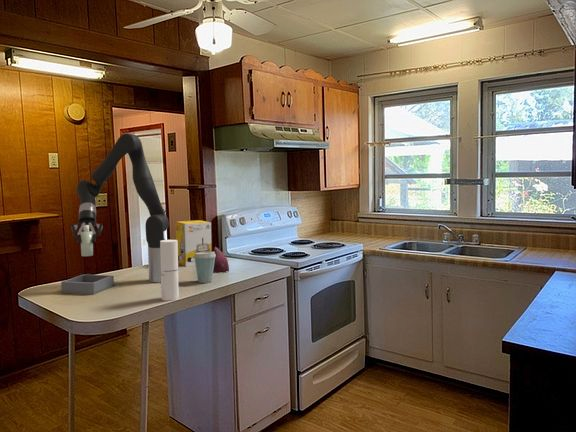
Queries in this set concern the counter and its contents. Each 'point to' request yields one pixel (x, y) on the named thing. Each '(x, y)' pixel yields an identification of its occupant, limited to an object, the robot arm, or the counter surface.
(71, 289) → the bin
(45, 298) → the counter surface
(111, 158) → the robot arm
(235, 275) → the counter surface
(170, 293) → the cylindrical container
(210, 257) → the disposable coffee cup
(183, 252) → the packaging box
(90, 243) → the cruet
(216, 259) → the vegetable
